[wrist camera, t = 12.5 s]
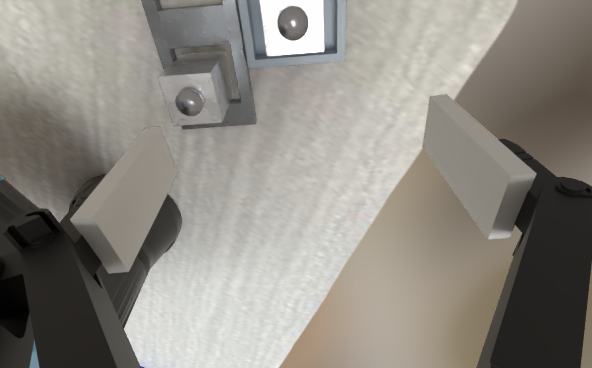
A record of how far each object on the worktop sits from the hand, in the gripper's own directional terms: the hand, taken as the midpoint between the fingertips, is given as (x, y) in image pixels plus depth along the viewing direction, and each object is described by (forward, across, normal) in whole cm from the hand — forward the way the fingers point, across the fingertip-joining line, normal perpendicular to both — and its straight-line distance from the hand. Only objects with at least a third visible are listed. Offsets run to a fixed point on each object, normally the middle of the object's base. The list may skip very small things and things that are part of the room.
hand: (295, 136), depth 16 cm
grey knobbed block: (+22, -10, -3) cm, 25 cm away
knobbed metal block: (+22, +1, +3) cm, 22 cm away
